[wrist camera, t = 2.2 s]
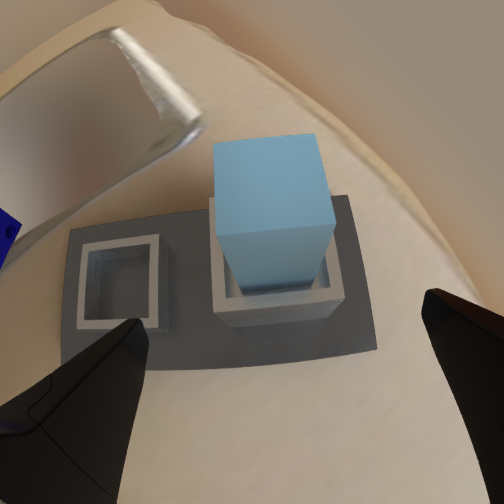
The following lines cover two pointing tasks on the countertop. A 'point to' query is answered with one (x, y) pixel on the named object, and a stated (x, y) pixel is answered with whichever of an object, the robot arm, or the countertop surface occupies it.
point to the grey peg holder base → (210, 296)
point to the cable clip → (7, 233)
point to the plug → (272, 210)
